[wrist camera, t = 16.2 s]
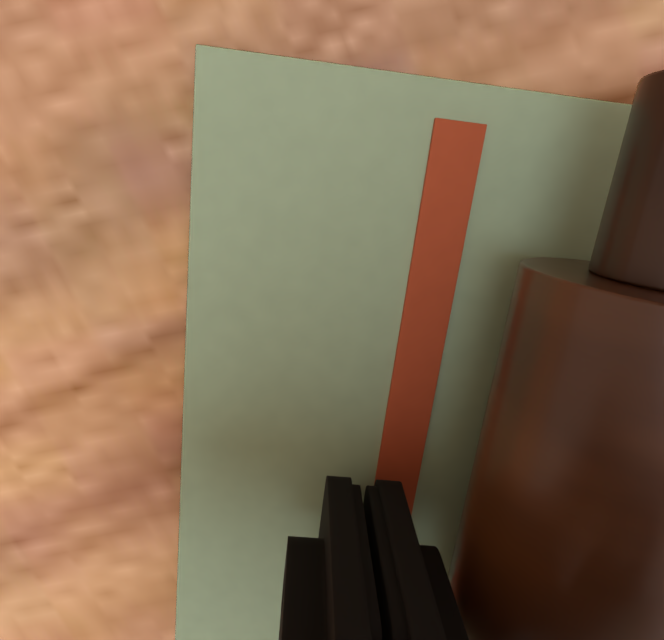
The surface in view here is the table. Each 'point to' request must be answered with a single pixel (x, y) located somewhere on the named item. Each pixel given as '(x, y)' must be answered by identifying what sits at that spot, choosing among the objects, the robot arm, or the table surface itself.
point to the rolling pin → (578, 430)
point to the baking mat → (354, 297)
